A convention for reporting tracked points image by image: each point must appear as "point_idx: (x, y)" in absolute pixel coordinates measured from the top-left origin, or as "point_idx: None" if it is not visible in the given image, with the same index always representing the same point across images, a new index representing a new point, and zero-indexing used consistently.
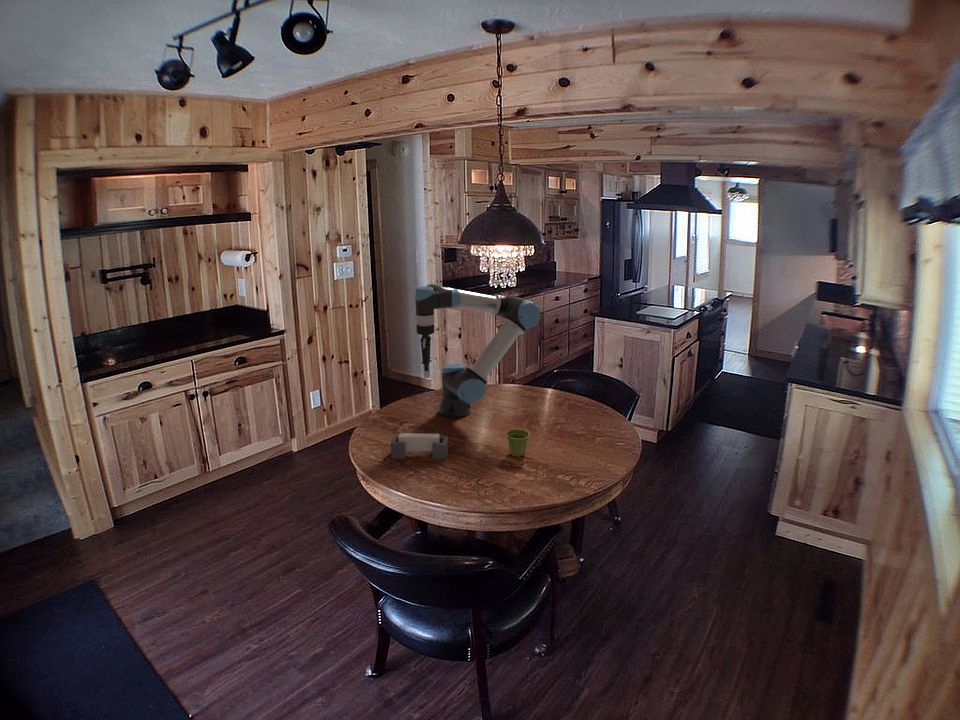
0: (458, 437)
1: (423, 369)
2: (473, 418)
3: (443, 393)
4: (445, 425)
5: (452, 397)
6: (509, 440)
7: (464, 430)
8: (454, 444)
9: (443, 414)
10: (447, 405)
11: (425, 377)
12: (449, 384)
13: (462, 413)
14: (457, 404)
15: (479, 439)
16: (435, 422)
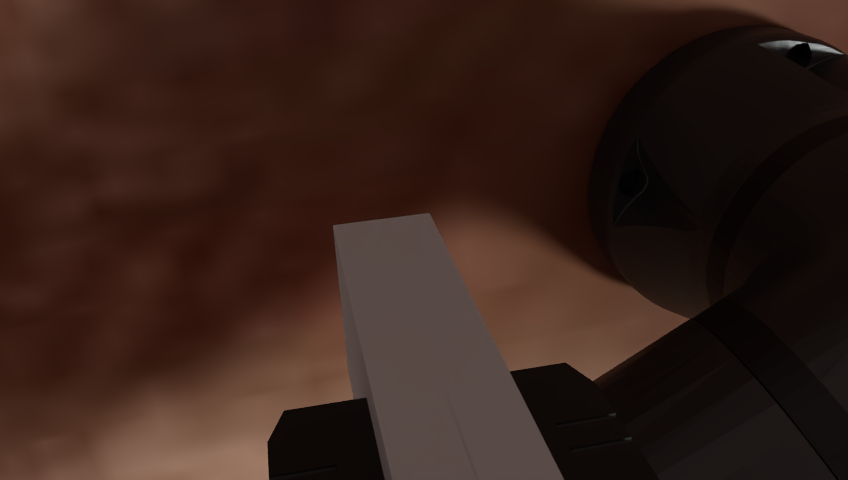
0: (171, 314)
1: (365, 376)
2: (571, 341)
3: (809, 155)
4: (413, 154)
5: (717, 257)
6: None
7: (324, 328)
8: (15, 315)
9: (633, 96)
10: (674, 168)
11: (340, 277)
12: (750, 353)
13: (618, 270)
14: (666, 270)
15: (171, 462)
16: (476, 45)
